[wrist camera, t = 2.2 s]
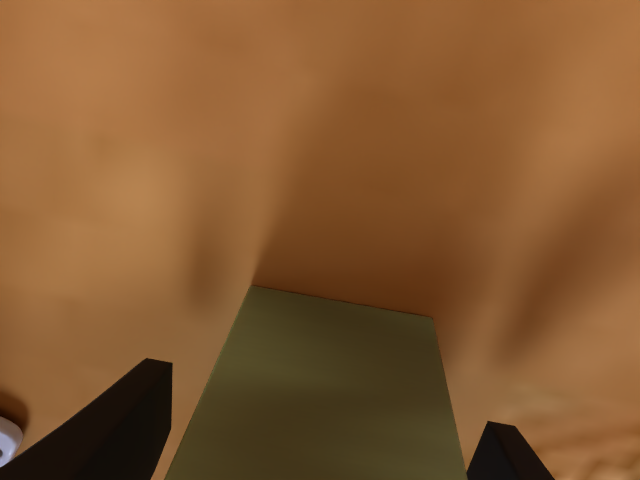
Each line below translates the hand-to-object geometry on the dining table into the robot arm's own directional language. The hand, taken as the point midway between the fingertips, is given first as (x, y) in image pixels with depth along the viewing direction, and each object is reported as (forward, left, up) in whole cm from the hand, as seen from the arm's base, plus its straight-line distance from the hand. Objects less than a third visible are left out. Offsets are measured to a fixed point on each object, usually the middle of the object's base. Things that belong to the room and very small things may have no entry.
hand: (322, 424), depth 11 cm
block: (0, 0, -2) cm, 2 cm away
